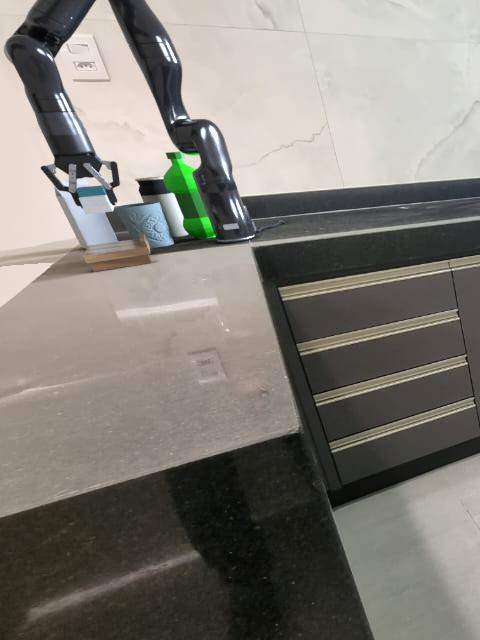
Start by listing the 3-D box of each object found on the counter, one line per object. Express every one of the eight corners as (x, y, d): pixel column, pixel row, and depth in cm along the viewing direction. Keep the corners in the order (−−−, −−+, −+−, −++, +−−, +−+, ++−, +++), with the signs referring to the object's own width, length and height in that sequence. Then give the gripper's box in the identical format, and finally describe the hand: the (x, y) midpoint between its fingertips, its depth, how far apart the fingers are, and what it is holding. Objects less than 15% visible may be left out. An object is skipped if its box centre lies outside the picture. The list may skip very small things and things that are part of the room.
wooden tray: (95, 260, 141) (84, 239, 139) (152, 252, 148) (144, 231, 146) (91, 272, 129) (79, 249, 126) (154, 262, 136) (144, 240, 133)
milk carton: (120, 245, 160) (89, 179, 152) (89, 250, 155) (55, 182, 147) (112, 243, 164) (82, 179, 156) (81, 248, 158) (48, 182, 150)
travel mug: (164, 239, 165) (138, 179, 157) (155, 237, 169) (129, 179, 161) (194, 234, 171) (171, 176, 163) (184, 233, 175) (161, 176, 167)
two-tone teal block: (88, 209, 135) (77, 187, 133) (114, 207, 138) (104, 185, 136) (85, 214, 127) (74, 190, 125) (113, 211, 130) (102, 188, 127)
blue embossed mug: (174, 245, 155) (157, 203, 150) (130, 251, 150) (110, 208, 145) (178, 240, 163) (161, 200, 158) (135, 245, 158) (117, 204, 153)
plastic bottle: (192, 236, 168) (159, 152, 158) (231, 232, 172) (201, 150, 161) (181, 242, 160) (145, 154, 149) (222, 238, 163) (189, 151, 153)
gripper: (19, 135, 119) (58, 212, 126) (105, 131, 128) (136, 204, 135) (24, 135, 124) (61, 209, 131) (106, 132, 133) (136, 201, 140)
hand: (99, 206), depth 133 cm, fingers closed on two-tone teal block, 5 cm apart
